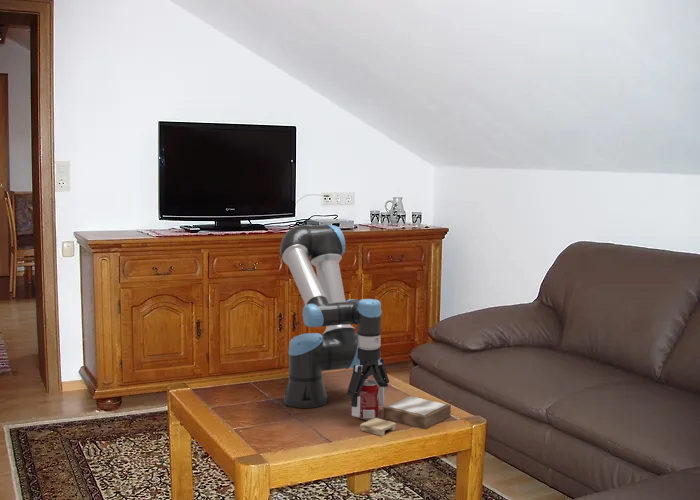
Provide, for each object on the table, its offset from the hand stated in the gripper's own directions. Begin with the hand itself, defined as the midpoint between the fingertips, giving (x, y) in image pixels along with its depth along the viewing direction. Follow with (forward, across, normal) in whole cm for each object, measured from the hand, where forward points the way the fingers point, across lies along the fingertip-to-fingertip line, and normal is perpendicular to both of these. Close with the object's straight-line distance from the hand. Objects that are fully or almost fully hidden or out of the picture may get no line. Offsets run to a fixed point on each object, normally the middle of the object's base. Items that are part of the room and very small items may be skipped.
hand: (368, 410), depth 251 cm
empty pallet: (+2, -7, -9) cm, 12 cm away
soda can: (+3, 0, 0) cm, 3 cm away
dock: (+2, +11, -12) cm, 16 cm away
